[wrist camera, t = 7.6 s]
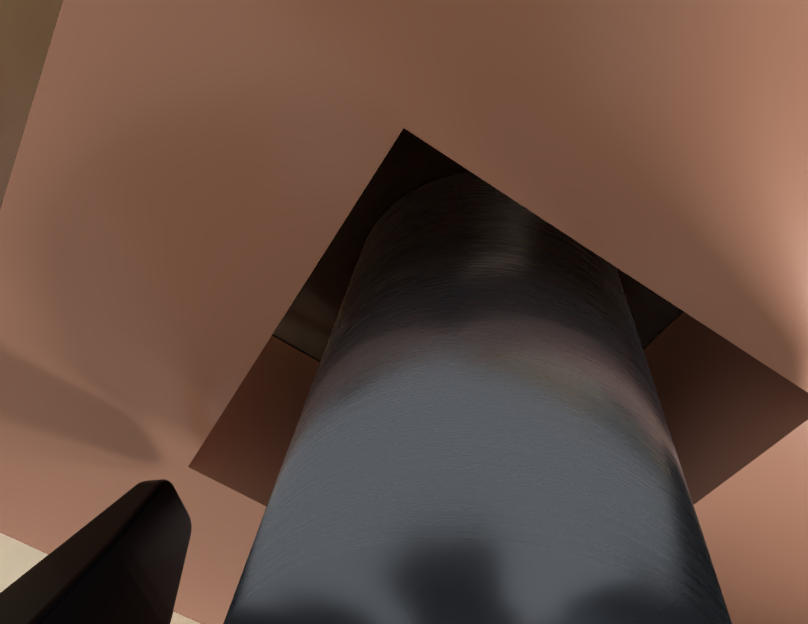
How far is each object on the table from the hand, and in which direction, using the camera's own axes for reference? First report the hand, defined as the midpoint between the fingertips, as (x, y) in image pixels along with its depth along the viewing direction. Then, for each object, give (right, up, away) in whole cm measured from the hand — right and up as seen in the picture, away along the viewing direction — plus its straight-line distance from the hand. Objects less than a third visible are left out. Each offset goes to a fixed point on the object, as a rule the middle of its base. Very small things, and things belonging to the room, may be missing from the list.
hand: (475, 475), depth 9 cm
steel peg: (+1, +3, +4) cm, 5 cm away
